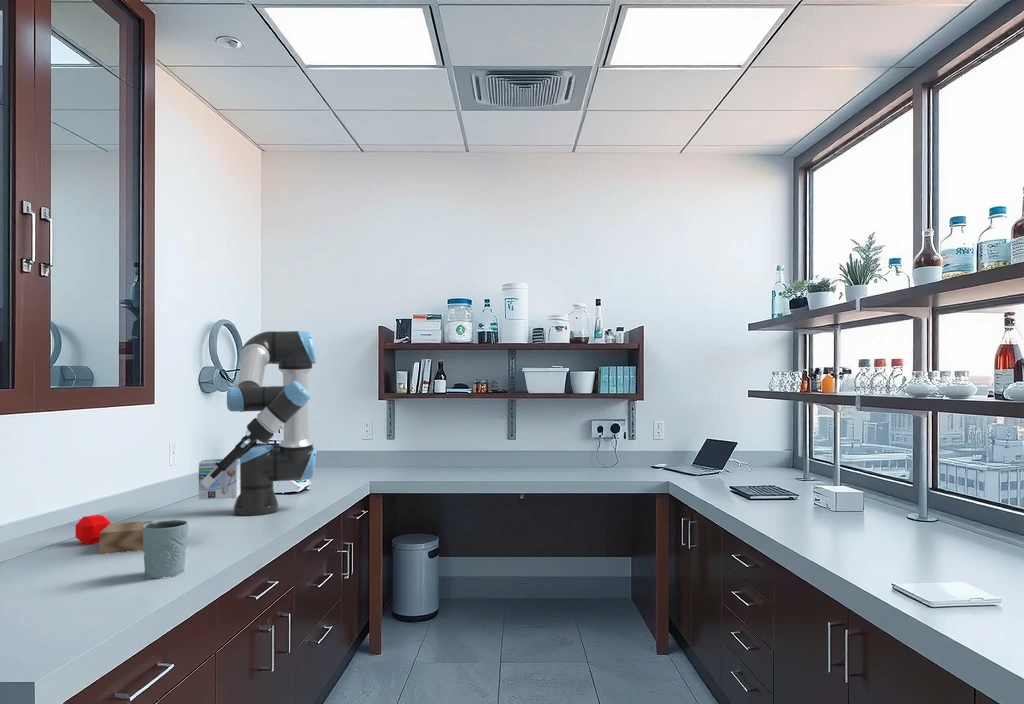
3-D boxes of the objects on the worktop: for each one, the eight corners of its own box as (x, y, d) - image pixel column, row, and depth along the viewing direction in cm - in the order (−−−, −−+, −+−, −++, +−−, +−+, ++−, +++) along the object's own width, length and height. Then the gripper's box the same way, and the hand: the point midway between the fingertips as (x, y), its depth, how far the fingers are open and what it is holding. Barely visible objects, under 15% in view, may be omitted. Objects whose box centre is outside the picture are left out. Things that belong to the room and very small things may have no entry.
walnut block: (99, 555, 194) (99, 532, 195) (109, 544, 208) (109, 523, 208) (144, 551, 198) (144, 529, 198) (151, 541, 211) (151, 520, 212)
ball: (114, 541, 211) (114, 515, 211) (85, 546, 204) (85, 519, 204) (100, 538, 215) (100, 512, 215) (71, 543, 209) (72, 517, 209)
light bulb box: (198, 500, 204) (197, 462, 204) (202, 496, 210) (202, 459, 210) (237, 498, 206) (237, 460, 206) (241, 493, 213) (240, 457, 213)
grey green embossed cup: (166, 567, 179) (166, 518, 179) (197, 570, 175) (197, 521, 175) (131, 577, 169) (132, 526, 170) (164, 581, 166) (164, 529, 166)
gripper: (269, 436, 202) (208, 497, 198) (279, 431, 221) (224, 487, 218) (249, 418, 201) (188, 479, 197) (261, 415, 220) (205, 470, 217)
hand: (207, 483), depth 208 cm, fingers closed on light bulb box, 7 cm apart
